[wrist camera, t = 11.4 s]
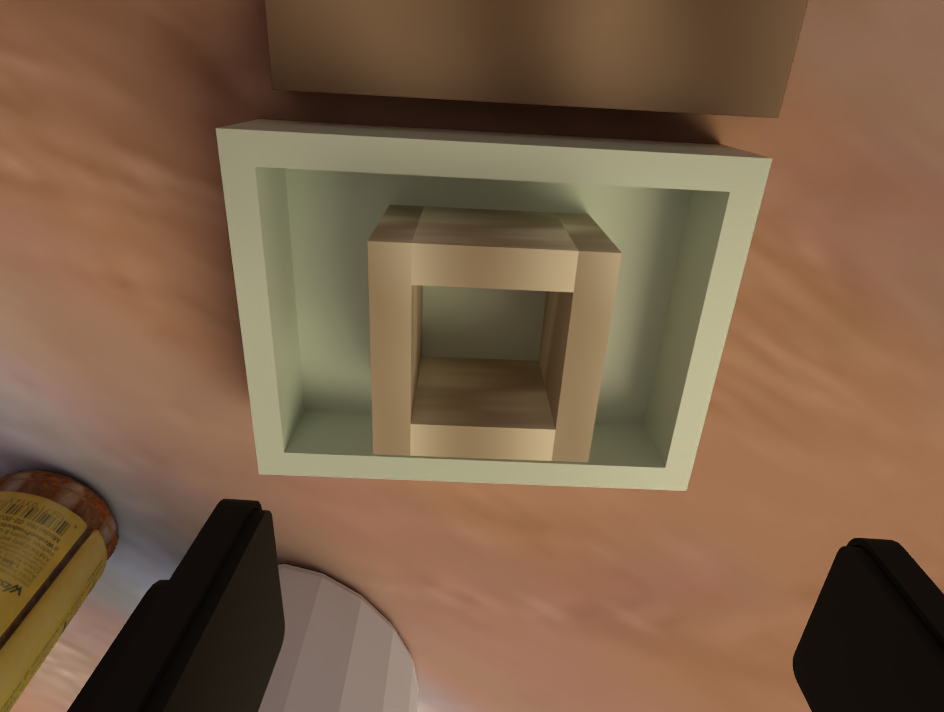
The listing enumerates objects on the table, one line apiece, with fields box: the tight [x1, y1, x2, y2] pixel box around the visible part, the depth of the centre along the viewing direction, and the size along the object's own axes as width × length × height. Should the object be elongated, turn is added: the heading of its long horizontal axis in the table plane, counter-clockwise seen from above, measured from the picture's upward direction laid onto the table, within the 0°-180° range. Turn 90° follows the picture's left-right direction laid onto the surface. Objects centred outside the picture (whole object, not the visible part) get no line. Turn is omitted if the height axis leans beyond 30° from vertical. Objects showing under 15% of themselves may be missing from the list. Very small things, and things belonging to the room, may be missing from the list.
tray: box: [216, 119, 772, 491], centre depth 21 cm, size 16×12×4 cm
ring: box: [367, 205, 622, 462], centre depth 20 cm, size 7×7×5 cm
